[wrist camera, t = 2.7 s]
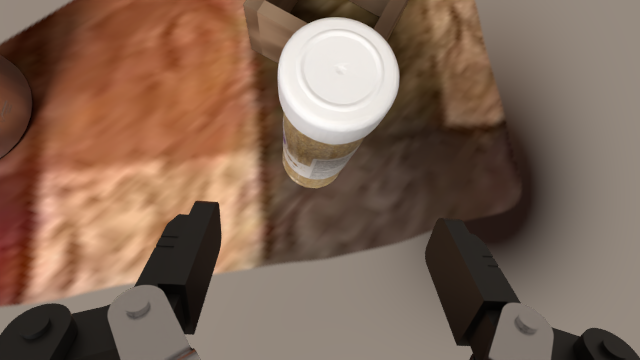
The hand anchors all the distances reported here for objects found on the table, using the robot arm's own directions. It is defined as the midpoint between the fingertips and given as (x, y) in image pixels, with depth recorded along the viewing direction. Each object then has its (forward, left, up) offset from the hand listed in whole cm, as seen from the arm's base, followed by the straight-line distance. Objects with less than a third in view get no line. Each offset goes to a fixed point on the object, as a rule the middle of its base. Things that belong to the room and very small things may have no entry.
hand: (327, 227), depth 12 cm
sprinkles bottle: (-2, +5, -12) cm, 13 cm away
